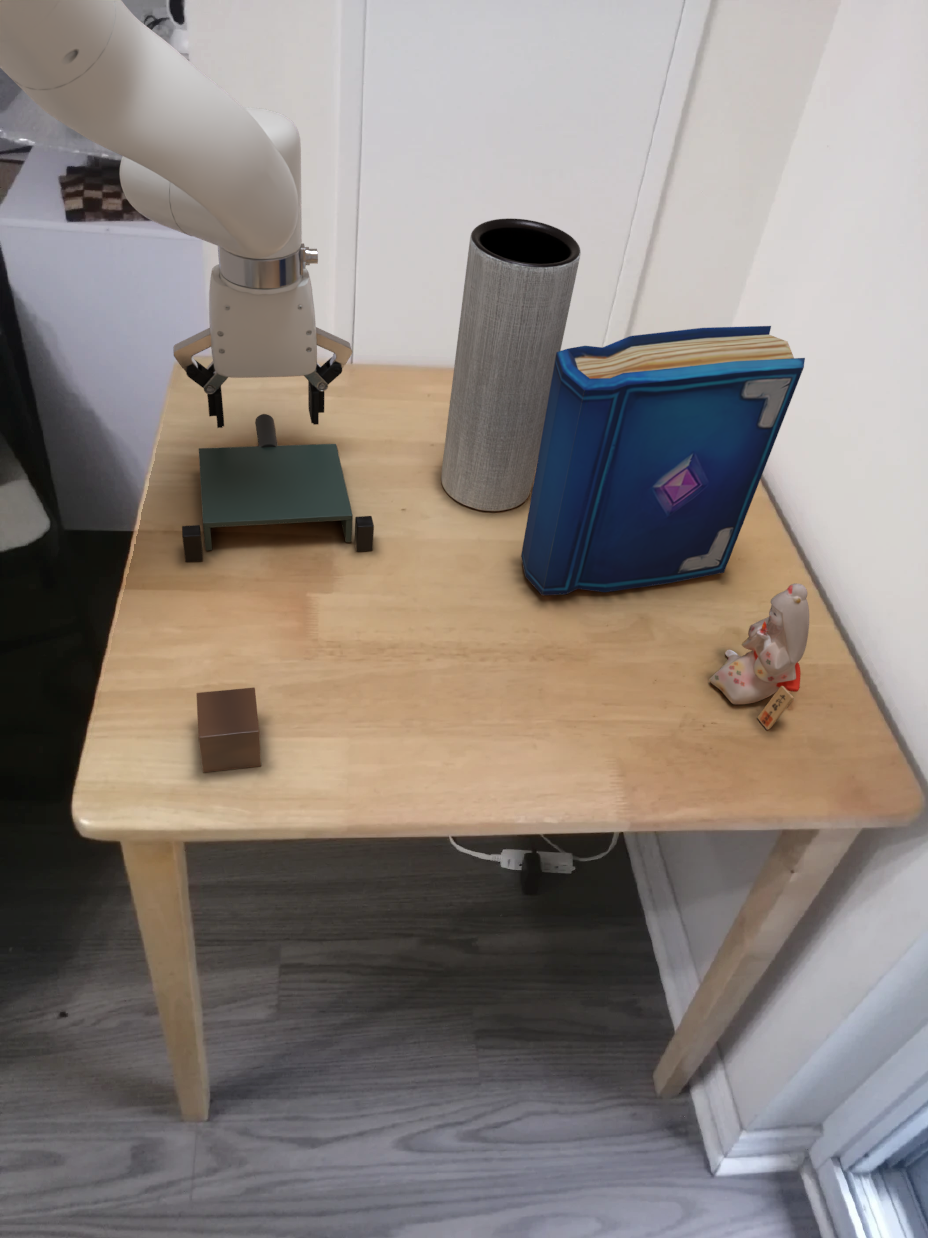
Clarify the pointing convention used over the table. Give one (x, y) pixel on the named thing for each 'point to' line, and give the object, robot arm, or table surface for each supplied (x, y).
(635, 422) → the book
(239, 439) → the table surface
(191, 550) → the pair of dark blocks
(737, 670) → the figurine
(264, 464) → the dustpan
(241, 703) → the block
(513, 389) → the planter
